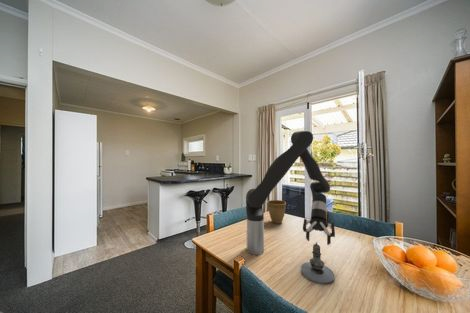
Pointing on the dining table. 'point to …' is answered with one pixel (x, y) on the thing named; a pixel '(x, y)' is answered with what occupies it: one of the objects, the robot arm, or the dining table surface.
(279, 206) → the plant pot
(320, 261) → the dark ornate figurine
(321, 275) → the dish
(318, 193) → the robot arm
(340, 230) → the dining table surface
